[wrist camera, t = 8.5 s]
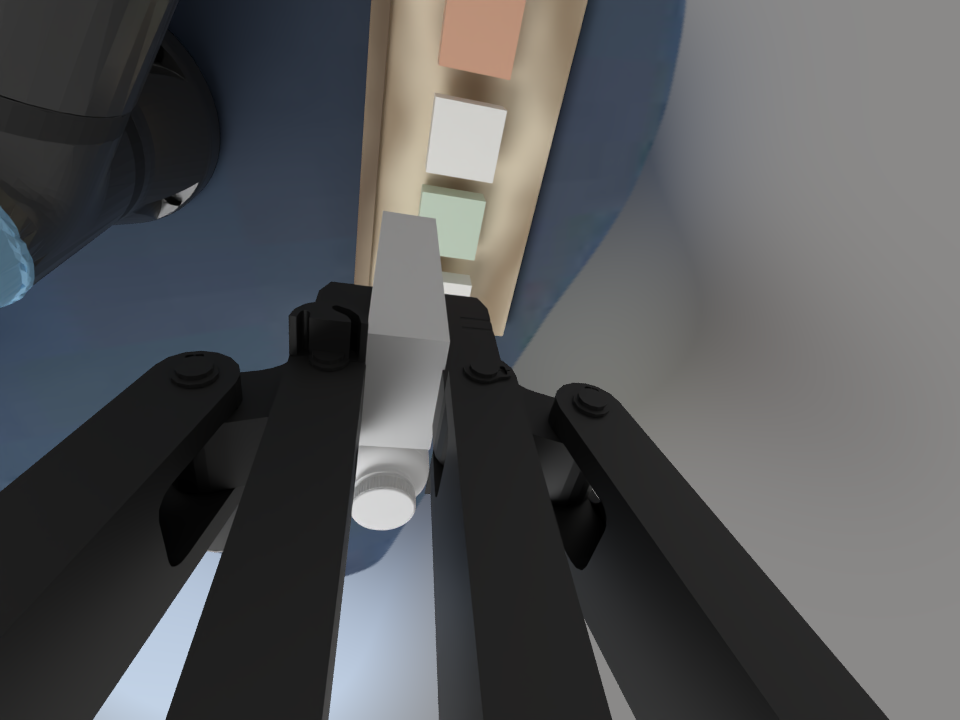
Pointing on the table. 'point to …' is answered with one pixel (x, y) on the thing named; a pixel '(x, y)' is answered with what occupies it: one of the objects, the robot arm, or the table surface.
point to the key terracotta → (481, 36)
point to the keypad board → (406, 125)
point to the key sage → (454, 219)
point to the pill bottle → (388, 485)
